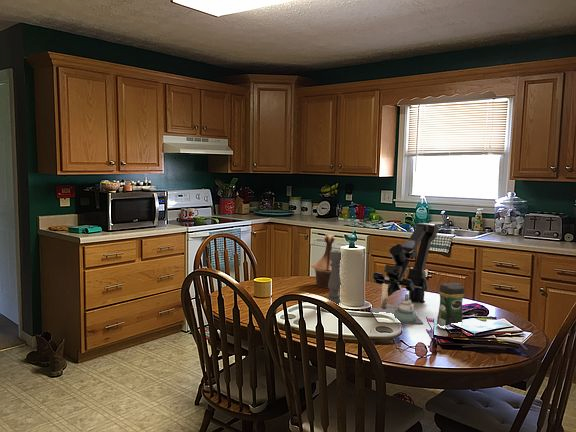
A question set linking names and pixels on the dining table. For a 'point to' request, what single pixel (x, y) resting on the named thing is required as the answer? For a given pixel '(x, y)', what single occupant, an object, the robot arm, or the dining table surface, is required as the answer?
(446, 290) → the coffee jar
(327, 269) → the brown tall piece
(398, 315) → the teal round piece
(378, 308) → the mat
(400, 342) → the dining table surface
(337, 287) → the candle holder
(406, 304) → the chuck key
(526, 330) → the dining table surface
